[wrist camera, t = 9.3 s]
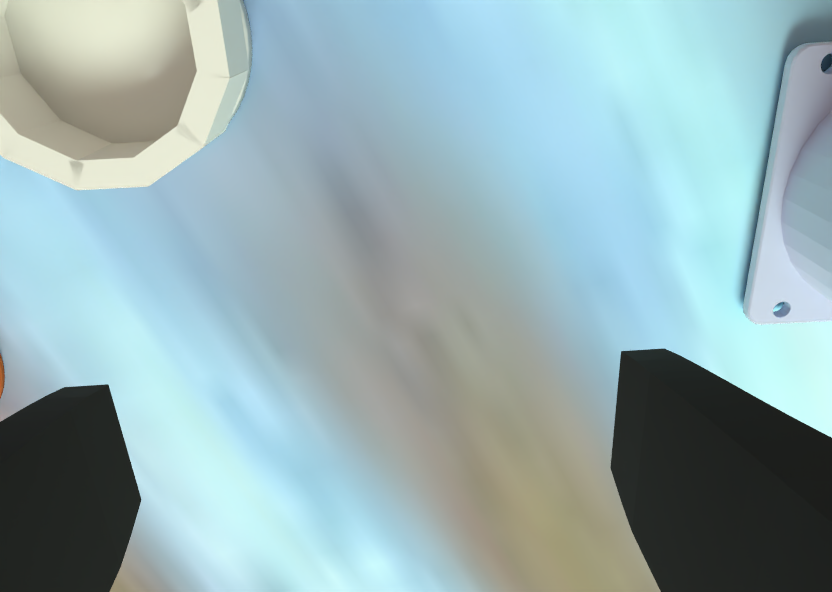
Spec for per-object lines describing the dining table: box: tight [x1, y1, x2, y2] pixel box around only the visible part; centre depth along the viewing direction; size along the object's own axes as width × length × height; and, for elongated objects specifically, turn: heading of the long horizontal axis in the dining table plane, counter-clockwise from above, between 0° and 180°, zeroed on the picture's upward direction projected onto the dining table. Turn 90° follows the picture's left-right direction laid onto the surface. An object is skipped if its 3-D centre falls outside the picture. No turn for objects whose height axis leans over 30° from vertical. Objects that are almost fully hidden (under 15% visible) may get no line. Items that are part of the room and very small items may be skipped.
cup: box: [0, 0, 252, 190], centre depth 16 cm, size 6×6×3 cm
